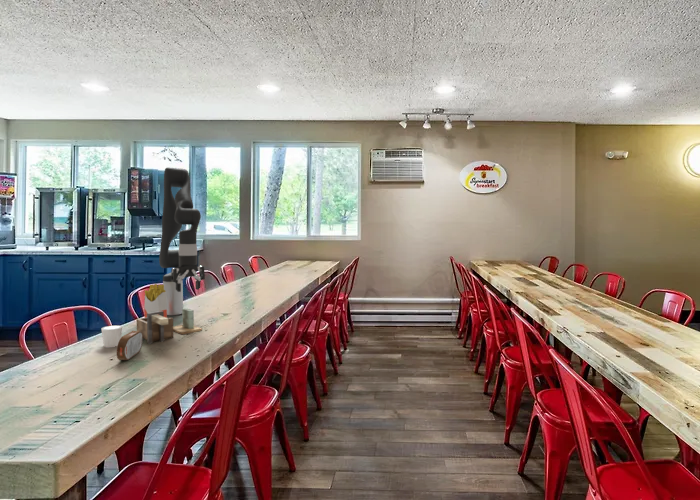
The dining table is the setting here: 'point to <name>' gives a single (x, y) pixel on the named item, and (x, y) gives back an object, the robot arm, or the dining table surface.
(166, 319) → the key
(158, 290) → the french fries container
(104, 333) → the white cup
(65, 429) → the dining table surface
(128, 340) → the tin
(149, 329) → the toolbox
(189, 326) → the lid
